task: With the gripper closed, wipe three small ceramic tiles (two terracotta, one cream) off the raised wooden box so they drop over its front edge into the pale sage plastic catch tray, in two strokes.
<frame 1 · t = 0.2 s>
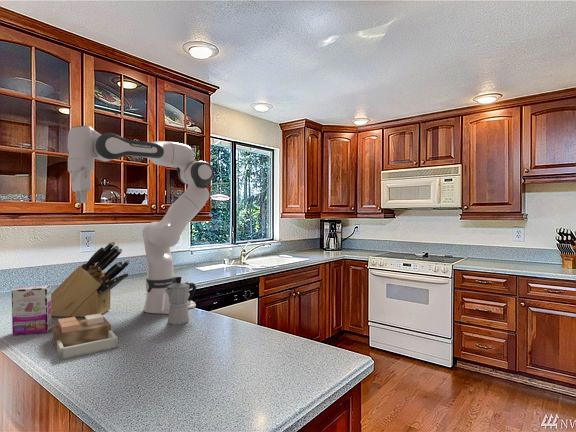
hand: (81, 203, 141), 47 cm above the worktop, tool pointing down, fingers open, 8 cm apart
knife block: (84, 314, 154), on the worktop
tile b: (67, 325, 125), point 5 cm above the worktop, touching wooden box
tile a: (94, 322, 128), point 5 cm above the worktop, touching wooden box
catch tray: (87, 348, 117), on the worktop
candy bar box: (32, 332, 132), on the worktop
tile c: (69, 329, 120), point 5 cm above the worktop, touching wooden box
coffee maker: (180, 321, 146), on the worktop
wooden box: (82, 339, 125), on the worktop
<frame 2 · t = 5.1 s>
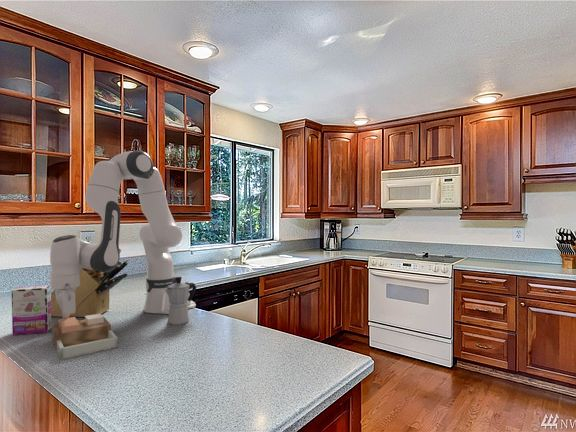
hand: (65, 320, 127), 6 cm above the worktop, tool pointing down, fingers closed
tile b: (67, 325, 124), point 5 cm above the worktop, touching gripper, tile c
tile c: (69, 329, 120), point 5 cm above the worktop, touching wooden box, tile b
everything else where it was.
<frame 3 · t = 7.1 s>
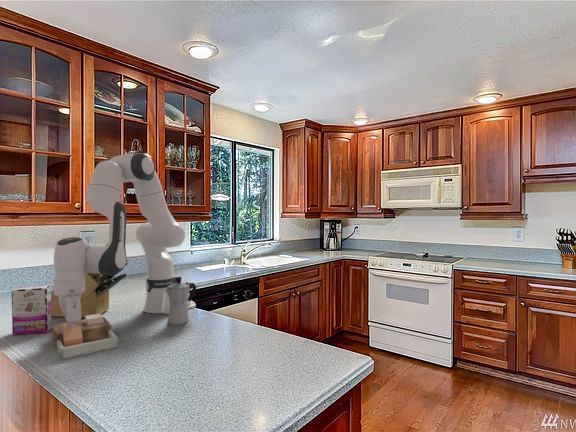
hand: (70, 329, 119), 6 cm above the worktop, tool pointing down, fingers closed
tile b: (72, 338, 116), point 4 cm above the worktop, tilted 29°, touching gripper
tile c: (73, 344, 114), point 3 cm above the worktop, tilted 180°, touching catch tray
everything else where it was.
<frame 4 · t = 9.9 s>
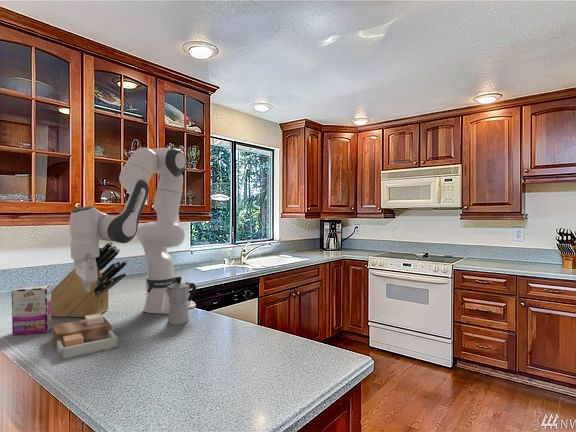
hand: (86, 290, 129), 16 cm above the worktop, tool pointing down, fingers closed
tile b: (73, 343, 115), point 3 cm above the worktop, touching tile c
tile c: (73, 344, 114), point 3 cm above the worktop, tilted 180°, touching catch tray, tile b
everything else where it was.
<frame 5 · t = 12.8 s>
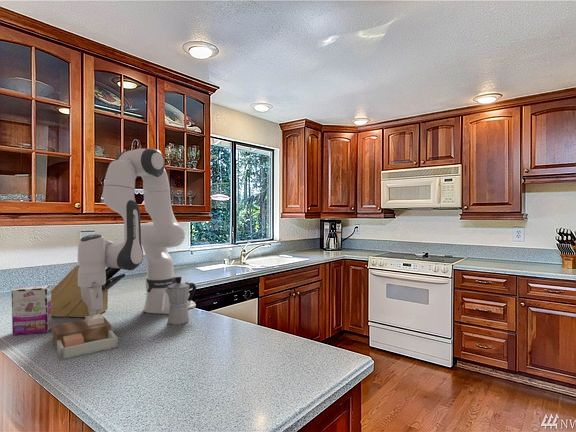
hand: (92, 318, 131), 6 cm above the worktop, tool pointing down, fingers closed
tile a: (94, 322, 128), point 5 cm above the worktop, touching gripper
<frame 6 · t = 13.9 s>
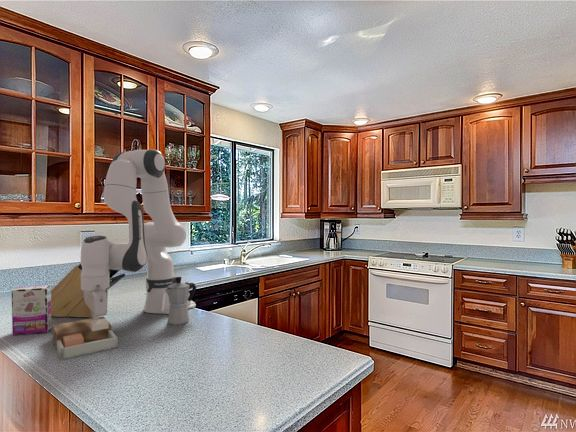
hand: (95, 322, 126), 6 cm above the worktop, tool pointing down, fingers closed
tile a: (98, 327, 123), point 5 cm above the worktop, touching gripper
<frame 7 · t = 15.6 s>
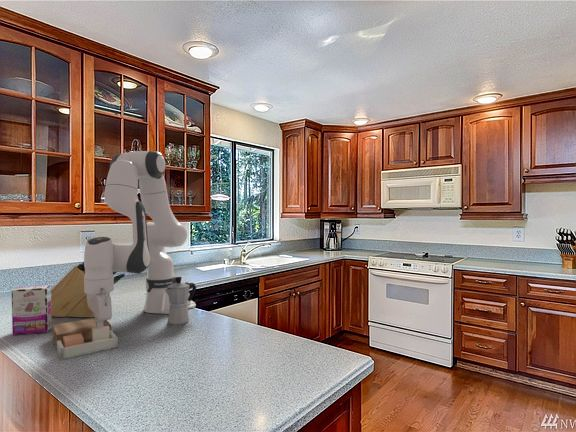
hand: (99, 327, 121), 6 cm above the worktop, tool pointing down, fingers closed
tile a: (100, 334, 121), point 3 cm above the worktop, tilted 91°, touching catch tray, gripper
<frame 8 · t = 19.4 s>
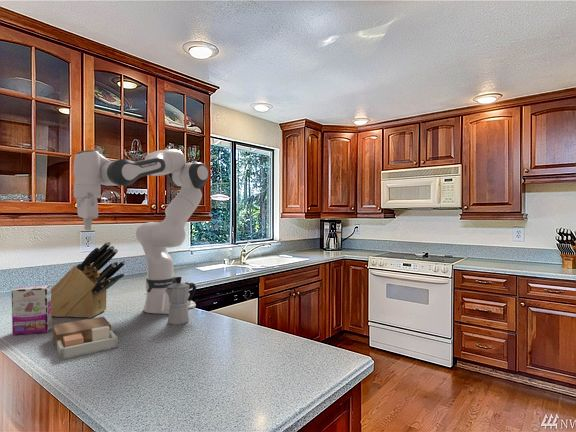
hand: (87, 230, 136), 37 cm above the worktop, tool pointing down, fingers closed
tile a: (99, 334, 121), point 3 cm above the worktop, tilted 90°, touching catch tray
at the end: tile a inside the target area (4.4 cm from its centre), point 3.1 cm above the worktop; tile b inside the target area (4.0 cm from its centre), point 2.6 cm above the worktop; tile c inside the target area (4.3 cm from its centre), point 2.6 cm above the worktop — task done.
